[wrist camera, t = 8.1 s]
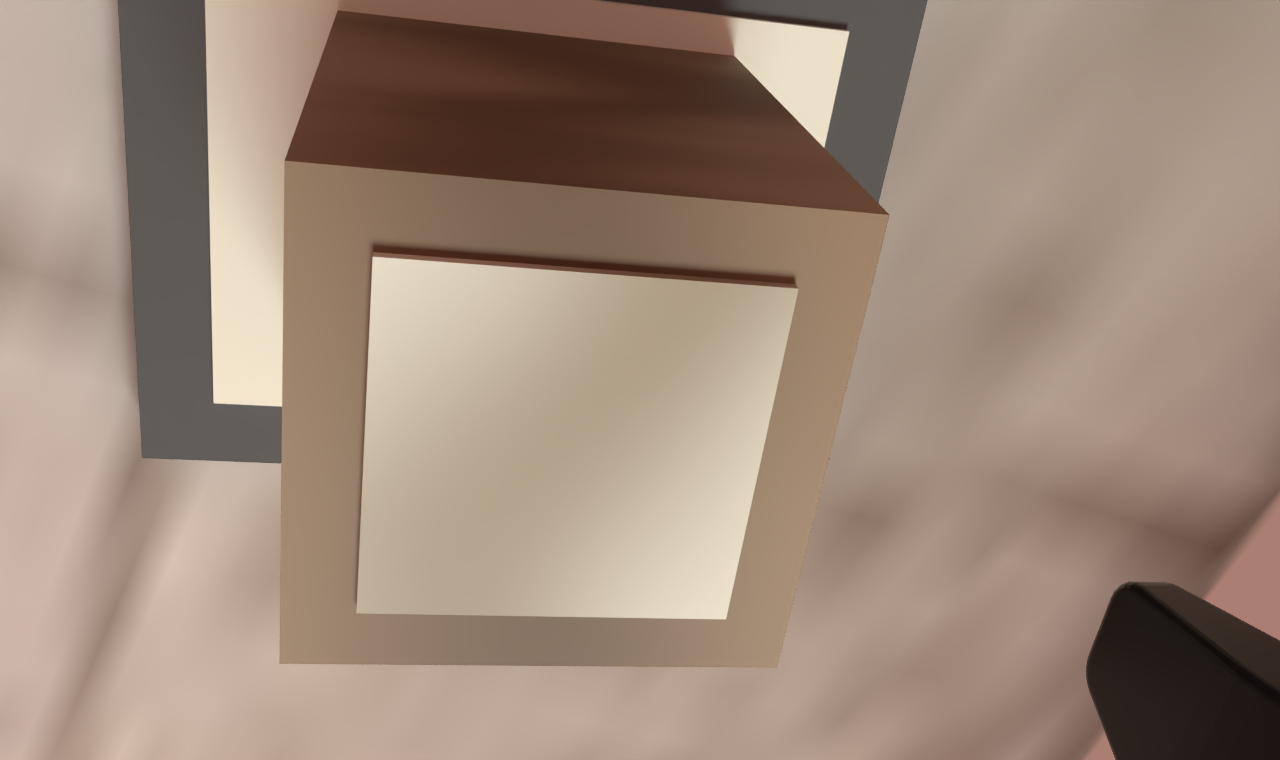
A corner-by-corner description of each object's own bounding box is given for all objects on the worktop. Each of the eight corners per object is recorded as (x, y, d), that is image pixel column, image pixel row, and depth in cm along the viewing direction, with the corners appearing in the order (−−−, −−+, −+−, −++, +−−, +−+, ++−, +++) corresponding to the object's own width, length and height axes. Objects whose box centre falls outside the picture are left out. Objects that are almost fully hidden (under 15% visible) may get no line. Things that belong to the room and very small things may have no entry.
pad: (915, -50, 16) (939, -39, 15) (796, 458, 20) (811, 488, 19) (125, -158, 14) (108, -151, 13) (153, 429, 18) (140, 461, 17)
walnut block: (734, 55, 15) (893, 218, 10) (674, 394, 18) (778, 674, 12) (338, 10, 14) (283, 164, 9) (326, 374, 17) (279, 670, 11)
